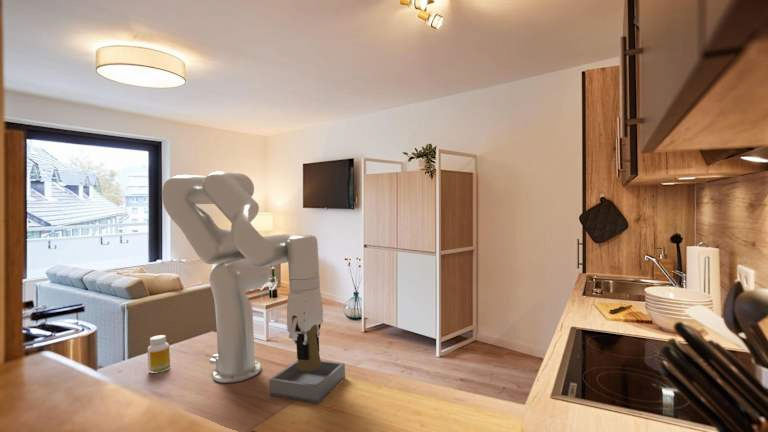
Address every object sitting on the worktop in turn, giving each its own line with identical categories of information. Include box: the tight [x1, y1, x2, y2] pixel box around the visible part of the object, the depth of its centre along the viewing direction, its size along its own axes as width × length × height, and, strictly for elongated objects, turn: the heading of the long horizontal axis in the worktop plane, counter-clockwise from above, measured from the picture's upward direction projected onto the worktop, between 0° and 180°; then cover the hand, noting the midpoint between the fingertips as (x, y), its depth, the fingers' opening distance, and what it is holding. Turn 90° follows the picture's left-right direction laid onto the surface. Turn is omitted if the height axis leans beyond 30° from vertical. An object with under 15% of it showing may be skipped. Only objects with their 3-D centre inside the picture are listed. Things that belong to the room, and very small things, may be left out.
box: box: [268, 359, 346, 405], centre depth 96 cm, size 14×14×4 cm
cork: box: [297, 325, 321, 371], centre depth 96 cm, size 6×6×11 cm
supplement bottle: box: [147, 334, 171, 372], centre depth 110 cm, size 5×5×10 cm
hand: (308, 354), depth 96 cm, fingers closed on cork, 4 cm apart
